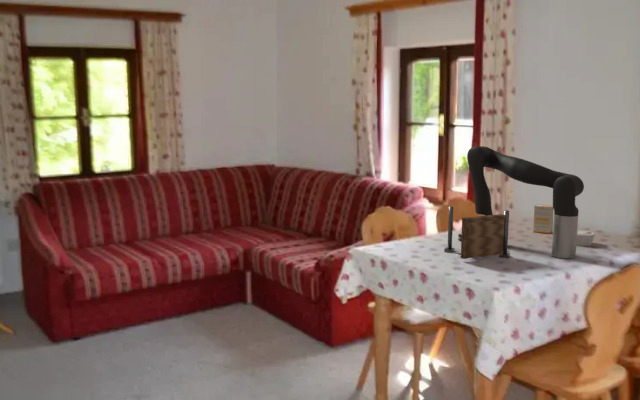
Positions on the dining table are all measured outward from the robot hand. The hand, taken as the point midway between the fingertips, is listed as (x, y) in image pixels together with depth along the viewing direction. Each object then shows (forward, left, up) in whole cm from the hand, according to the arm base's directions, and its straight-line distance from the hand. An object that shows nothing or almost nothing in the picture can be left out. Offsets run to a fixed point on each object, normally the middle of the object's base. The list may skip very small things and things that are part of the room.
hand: (469, 243), depth 264 cm
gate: (-5, +4, -5) cm, 8 cm away
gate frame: (-12, -2, -7) cm, 14 cm away
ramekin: (-59, +25, -7) cm, 64 cm away
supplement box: (-73, +3, -7) cm, 73 cm away
